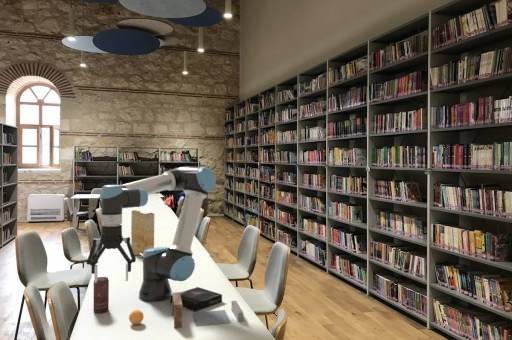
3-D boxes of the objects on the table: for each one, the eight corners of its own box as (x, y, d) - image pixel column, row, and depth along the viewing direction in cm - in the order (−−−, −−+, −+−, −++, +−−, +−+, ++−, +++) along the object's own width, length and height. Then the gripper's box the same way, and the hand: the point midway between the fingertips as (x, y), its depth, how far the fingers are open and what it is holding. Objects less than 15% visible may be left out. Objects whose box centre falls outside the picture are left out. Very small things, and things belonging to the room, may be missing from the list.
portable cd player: (196, 294, 203) (196, 286, 203) (221, 303, 192) (222, 294, 192) (170, 303, 190) (170, 295, 190) (195, 313, 179) (195, 303, 179)
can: (110, 307, 182) (110, 276, 181) (105, 313, 176) (106, 280, 175) (96, 307, 182) (96, 276, 181) (91, 313, 175) (91, 280, 175)
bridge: (174, 328, 162) (174, 304, 161) (172, 314, 176) (172, 292, 175) (182, 327, 162) (182, 304, 162) (179, 313, 176) (179, 292, 176)
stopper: (231, 309, 182) (231, 300, 182) (235, 309, 182) (236, 300, 182) (238, 322, 168) (238, 312, 168) (242, 321, 169) (243, 312, 169)
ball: (129, 321, 167) (129, 308, 167) (143, 320, 168) (143, 307, 168) (128, 327, 162) (128, 313, 161) (143, 326, 163) (143, 312, 163)
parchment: (155, 259, 267) (156, 213, 266) (146, 261, 263) (147, 214, 262) (138, 253, 285) (138, 209, 284) (130, 254, 280) (130, 210, 279)
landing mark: (192, 312, 178) (192, 312, 178) (224, 310, 181) (224, 309, 181) (196, 325, 164) (196, 325, 164) (230, 322, 168) (230, 322, 168)
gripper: (78, 227, 155) (78, 285, 155) (142, 225, 161) (142, 281, 161) (81, 224, 162) (81, 279, 163) (142, 222, 168) (142, 276, 169)
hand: (111, 280), depth 162 cm, fingers open, 11 cm apart
